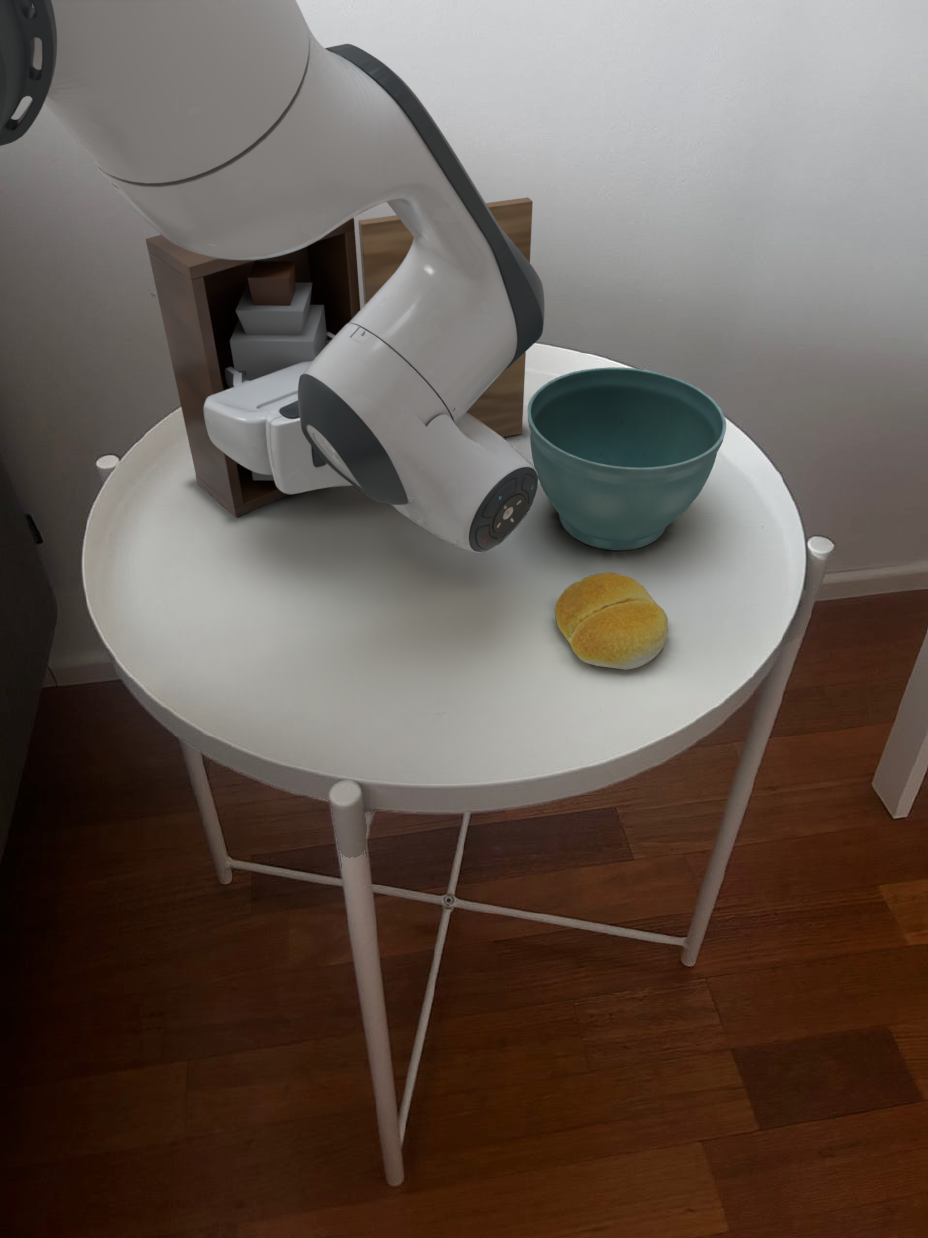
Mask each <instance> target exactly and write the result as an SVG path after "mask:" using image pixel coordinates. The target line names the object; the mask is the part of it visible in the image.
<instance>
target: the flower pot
mask: <svg viewBox="0 0 928 1238" xmlns="http://www.w3.org/2000/svg"><path fill="white" fill-rule="evenodd" d="M526 412H527V423H528V428H529V431H530V434H529V435H530V436H529V440H530V441H529V443H530V451H531V458H532V465H533V466H534V467H535V469H536V471H537V474H538V483H539V484H540V487H541V489H542V491H543V492H544V494H545V496H546V498H547V499H548V501H549V503H550V504H551V505H552V507H553V508H554V509H555V511H556V512H557V513H558V517H559V521H560V523H561V525H562V528H563V529H564V530H565V531H566V532H567V533H568V534H569V535H570V536H571V537H573V538H574V539H575V540H577V541H579V542H580V543H583V544H585V545H588V546H591V547H594V548H598V549H603V550H610V551H628V550H635V549H640V548H643V547H645V546H648V545H650V544H652V543H653V542H655V541H657V540H658V539H659V538H660V537H661V536H662V535H663V534H664V532H665V531H666V527H668V525H670V524H672V523H673V522H674V521H675V520H676V519H678V518H679V517H680V516H681V515H683V513H685V512H686V510H688V508H689V507H690V506H691V505H692V504H693V503H694V501H695V500H696V499H697V498H698V496H699V495H700V493H701V491H702V490H703V488H704V487H705V485H706V483H707V481H708V479H709V477H710V476H711V473H712V470H713V468H714V465H715V462H716V459H717V454H718V452H719V450H720V448H721V446H722V445H723V443H724V439H725V435H726V431H727V421H726V416H725V415H724V411H723V410H722V408H721V407H720V405H718V403H717V402H716V401H715V400H714V399H713V397H712V396H710V395H709V394H707V393H706V392H705V391H704V390H702V389H700V388H699V387H697V386H695V385H693V384H692V383H689V382H687V381H685V380H682V379H680V378H678V377H675V376H672V375H668V374H665V373H661V372H657V371H653V370H649V369H642V368H633V367H617V366H616V367H614V366H613V367H612V366H611V367H597V368H596V367H595V368H587V369H580V370H576V371H573V372H572V371H571V372H569V373H566V374H561V375H560V376H557V377H556V378H554V379H551V380H549V381H548V382H546V383H545V384H543V385H542V386H541V387H539V389H537V390H536V391H535V392H534V394H533V395H532V396H531V398H530V399H529V401H528V405H527V411H526Z"/></svg>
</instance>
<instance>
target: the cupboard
mask: <svg viewBox="0 0 928 1238" xmlns="http://www.w3.org/2000/svg"><path fill="white" fill-rule="evenodd" d="M355 226H356V225H355V217H354V218H352V219H350V220H348V221H347V222H345V223H344V224H342V225H341V226H339V227H338V228H336V229H335V230H333V231H332V232H330V233H329V234H327V235H326V236H324V237H323V238H321V239H320V240H318V241H316V242H315V243H313V244H311V245H309V246H307V247H305V248H302V249H300V250H297V251H295V252H292V253H289V254H285V255H282V256H278V257H273V258H267V259H259V260H225V259H218V258H212V257H207V256H204V255H200V254H197V253H194V252H191V251H188V250H186V249H183V248H181V247H179V246H177V245H175V244H174V243H172V242H170V241H169V240H168V239H166V238H165V237H164V236H162V235H161V234H158V235H155V236H151V237H147V238H145V243H146V248H147V251H148V256H149V262H150V266H151V272H152V275H153V280H154V281H153V282H154V285H155V289H156V295H157V299H158V304H159V310H160V313H161V318H162V323H163V328H164V332H165V338H166V341H167V347H168V351H169V355H170V361H171V365H172V370H173V375H174V379H175V384H176V388H177V389H176V390H177V393H178V398H179V403H180V407H181V413H182V418H183V421H184V426H185V432H186V435H187V440H188V444H189V449H190V454H191V459H192V464H193V469H194V473H195V479H196V483H197V485H198V486H200V487H201V488H202V489H203V490H204V491H205V492H207V493H208V494H209V495H210V497H212V498H213V499H214V500H215V501H217V502H218V503H219V504H220V505H221V506H222V507H224V509H225V510H227V512H228V513H230V514H232V515H233V516H234V517H235V518H238V517H240V516H243V515H245V514H247V513H249V512H252V511H254V510H256V509H259V508H261V507H263V506H266V505H268V504H270V503H272V502H275V501H277V500H279V499H281V498H283V497H286V496H288V495H289V494H286V493H283V492H282V491H280V490H279V489H278V488H277V486H276V484H275V481H273V480H253V476H252V471H251V470H249V469H247V468H245V467H244V466H242V465H240V464H239V463H237V462H236V461H234V460H233V459H232V458H230V457H229V456H227V455H226V454H225V453H223V452H222V451H221V450H220V449H218V448H217V447H216V446H215V445H214V444H213V443H212V441H211V440H210V438H209V435H208V432H207V428H206V424H205V418H204V404H205V401H206V399H207V397H209V396H211V395H213V394H216V393H219V392H222V391H225V390H227V389H230V388H229V386H228V385H227V382H226V377H225V371H224V370H225V368H228V367H231V366H234V363H233V357H232V351H231V345H230V339H231V337H232V334H233V332H234V330H235V327H236V325H237V323H238V320H239V317H238V315H237V313H236V308H237V306H238V304H239V302H240V299H241V297H242V295H243V292H244V290H245V288H246V286H247V283H248V275H249V273H250V271H251V269H252V266H253V264H254V262H255V261H291V262H295V283H312V290H311V298H310V305H324V310H325V320H326V331H327V332H330V333H332V334H334V335H335V336H336V335H337V334H338V333H339V331H340V330H341V329H342V328H343V327H344V326H345V325H346V324H347V323H349V322H350V321H351V320H352V319H353V317H354V316H355V315H356V314H357V313H358V312H359V311H360V310H361V309H362V308H361V298H360V297H361V296H360V285H359V268H358V256H357V255H358V254H357V241H356V231H355V230H356V227H355Z"/></svg>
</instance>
